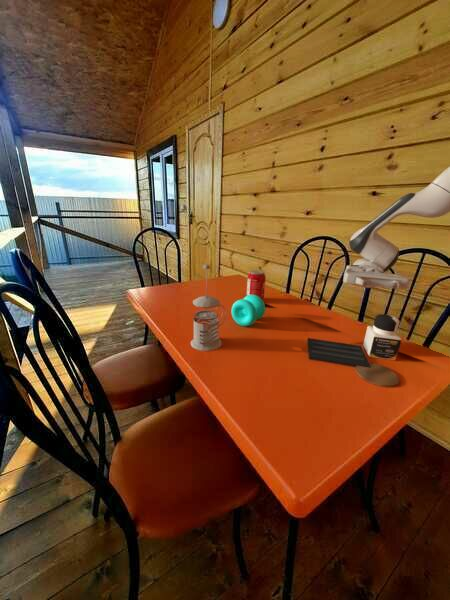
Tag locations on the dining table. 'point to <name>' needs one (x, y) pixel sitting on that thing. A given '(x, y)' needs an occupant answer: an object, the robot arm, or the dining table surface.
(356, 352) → the scrub mat
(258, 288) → the soda can
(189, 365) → the dining table surface
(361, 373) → the coaster
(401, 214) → the robot arm
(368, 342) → the medicine bottle
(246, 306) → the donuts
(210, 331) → the french press
